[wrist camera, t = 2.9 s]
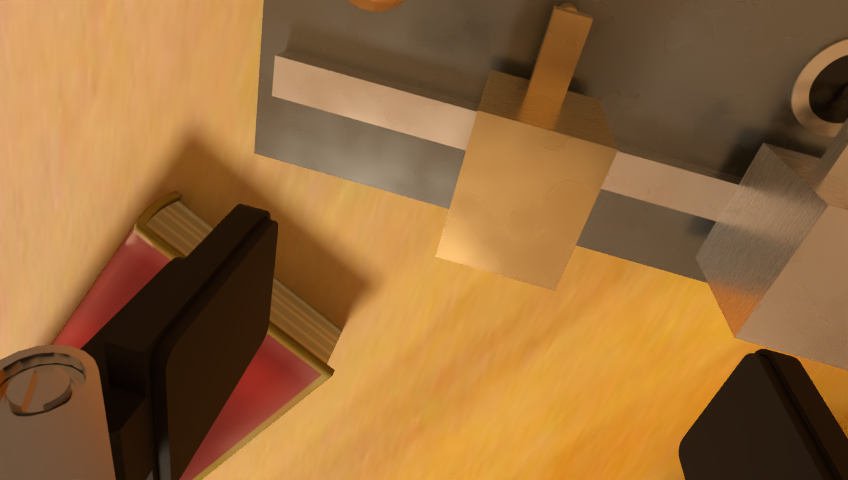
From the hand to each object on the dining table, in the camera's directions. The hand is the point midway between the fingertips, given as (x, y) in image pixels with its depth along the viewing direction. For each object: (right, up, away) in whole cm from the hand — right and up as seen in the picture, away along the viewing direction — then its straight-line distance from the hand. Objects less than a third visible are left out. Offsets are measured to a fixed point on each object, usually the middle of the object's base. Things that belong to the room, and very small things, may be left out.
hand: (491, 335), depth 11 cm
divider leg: (+3, +7, +10) cm, 12 cm away
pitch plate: (+4, +9, +11) cm, 14 cm away
